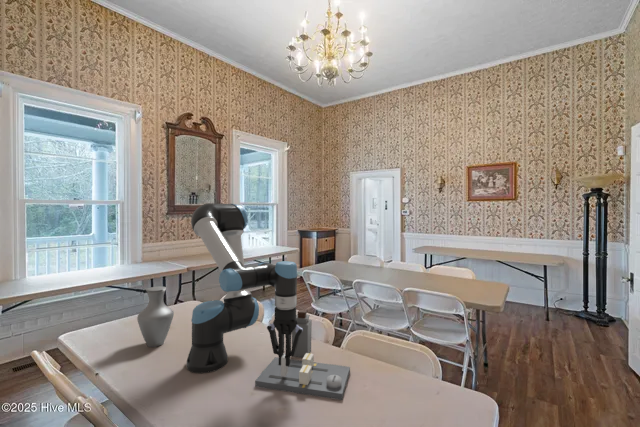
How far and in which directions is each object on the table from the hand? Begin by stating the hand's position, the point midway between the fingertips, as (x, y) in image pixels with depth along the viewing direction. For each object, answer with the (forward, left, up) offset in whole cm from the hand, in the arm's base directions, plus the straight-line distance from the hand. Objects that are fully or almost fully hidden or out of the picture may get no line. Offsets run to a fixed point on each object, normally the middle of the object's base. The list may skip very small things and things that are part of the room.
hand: (284, 374), depth 107 cm
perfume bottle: (-1, +24, -3) cm, 24 cm away
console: (+6, +5, -3) cm, 8 cm away
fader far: (+6, +9, -1) cm, 11 cm away
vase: (-67, +16, -3) cm, 69 cm away
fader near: (+8, 0, -1) cm, 8 cm away
